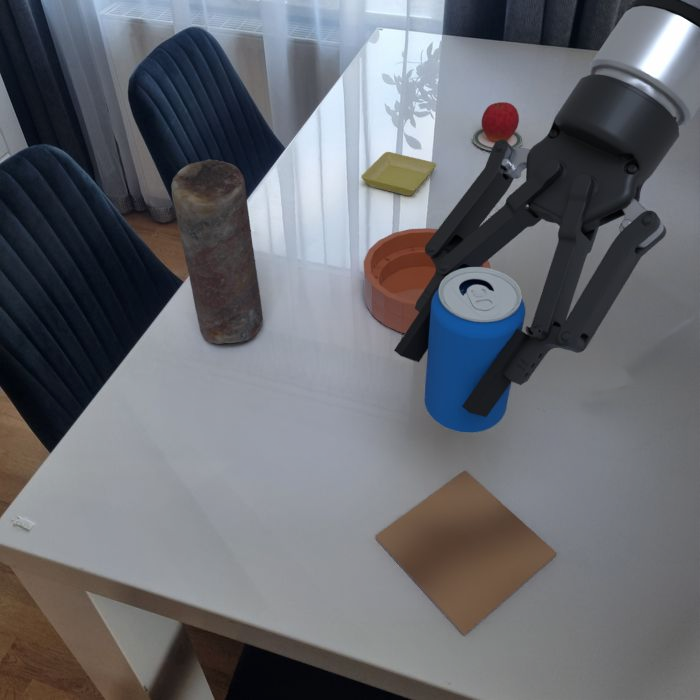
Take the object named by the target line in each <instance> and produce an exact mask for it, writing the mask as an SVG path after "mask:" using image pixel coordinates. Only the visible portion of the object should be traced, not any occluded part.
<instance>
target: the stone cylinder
mask: <svg viewBox="0 0 700 700" xmlns="http://www.w3.org/2000/svg"><path fill="white" fill-rule="evenodd" d="M170 187H171V197H172V203H173V207H174V211H175V216H176V221H177V225H178V230H179V234H180V240H181V245H182V249H183V254H184V258H185V263H186V268H187V271H188V277H189V282H190V287H191V293H192V298H193V303H194V308H195V312H196V313H195V314H196V318H197V322H198V326H199V331H200V334H201V336H202V338H203V340H206V341H207V342H208V343H211V344H213V343H214V344H217V345H221V344H235V343H243V342H246V341H249V340H250V339H252V338H254V336H255V335H256V334H257V333H258V332H259V330H260V328H261V327H262V325H263V321H264V317H263V309H262V301H261V294H260V293H261V292H260V286H259V279H258V272H257V265H256V264H257V263H256V258H255V250H254V244H253V236H252V230H251V221H250V214H249V206H248V198H247V190H246V181H245V177H244V175H243V173H242V171H241V170H240V169H239V168H238V167H237V166H235V164H232V163H229V162H226V161H222V160H218V159H211V158H210V159H209V158H208V159H205V160H201V161H197V162H194V163H189V164H186V165H185V166H183V167H182V168H181V169H180V170H179V171H178V172H177V173H176V174H175V175H174V177H173V178H172V181H171V185H170Z"/></svg>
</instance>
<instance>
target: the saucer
mask: <svg viewBox="0 0 700 700" xmlns="http://www.w3.org/2000/svg"><path fill="white" fill-rule="evenodd" d="M437 166H438V164H437V163H436V162H434V161H430V160H426V159H421V158H417V157H413V156H409V155H404V154H400V153H396V152H393V151H386V152H384V153H382V154H381V155H380V156H379V158H378V159H377V160H376V161H375V162H374V163H373V164H372V165H371V166H370V167H369V168H368V169H366V171H365V172H364V173H363V174H361V176H360V178H361V179H362V180H363V181H364V182H365V183H366V184H367V185H369V186H370V187H371V188H372V187H373V188H375V189H379V190H384V191H388V192H392V193H395V194H399V195H403V196H407V197H409V196H411V195H413V194H414V193H415V192H416V190H418V188H419V187H420V186H421V185H422V184H423V182H424V181H425V180H426V179H427V178H428V176H429V175H430V174H431V173H432V172H433V171H434V170H435V168H436V167H437Z"/></svg>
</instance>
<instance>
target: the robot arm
mask: <svg viewBox="0 0 700 700" xmlns="http://www.w3.org/2000/svg"><path fill="white" fill-rule="evenodd" d="M589 73H590V74H589V75H586V76H583V77H581V78H580V79H579V81H578V82H577V84H576V85H575V86H574V88H573V89H572V91H571V93H570V94H569V96H568V97H567V98H566V100H565V101H564V103H563V105H562V106H561V108H560V109H559V110H558V111H557V113H556V115H555V117H554V119H553V122H552V124H551V127H550V129H549V132H548V133H547V134H546V136H545V137H544V138H542V139H541V140H540V141H539V142H537V143H536V144H534V145H533V146H532V147H531V148H524V147H512V146H511V145H510V144H509V143H508V142H507V141H506V140H504V139H503V140H499V141H497V142H496V143H495V144H494V146H493V148H492V151H490V153H489V156H488V157H487V161H486V164H485V166H484V168H483V169H482V171H481V172H480V174H479V175H478V176H477V177H476V178H475V180H474V181H473V183H472V184H471V185H470V186H469V188H468V189H467V190H466V192H465V193H464V194H463V195H462V197H461V198H460V199H459V201H458V202H457V203H456V205H455V206H454V207H453V209H452V210H451V211H450V213H449V214H448V215H447V216H446V218H445V219H444V220H443V221H442V224H440V226H439V227H438V228H437V229H438V230H437V231H436V232H435V234H434V235H433V236H432V238H431V239H430V240H429V242H428V243H427V244H426V246H425V253H426V254H427V255H428V256H430V258H431V259H432V261H433V263H434V264H435V267H436V272H435V274H434V276H433V278H432V279H431V281H430V282H429V284H428V285H427V287H426V288H425V290H424V291H423V293H422V294H421V296H420V297H419V299H418V300H417V302H416V305H415V309H416V310H417V311H418V312H419V314H418V315H417V317H416V318H415V320H414V321H413V323H412V324H411V326H410V327H409V329H408V330H407V332H406V333H404V335H403V336H402V338H401V339H400V341H399V342H398V344H397V345H396V347H395V348H394V350H393V351H394V352H395V353H396V354H397V355H399V356H400V357H402V358H405V359H408V360H410V361H413V362H416V363H420V361H421V360H422V358H423V357H424V356H425V354H426V352H428V341H429V328H430V314H431V302H432V298H433V296H434V294H435V292H436V291H437V290H438V288H439V286H440V283H441V282H442V280H443V279H444V278H445V277H446V276H447V275H449V274H450V273H452V272H454V271H456V270H459V269H463V268H468V267H480V266H481V265H483V264H484V263H485V262H486V261H487V260H488V261H489V260H490V259H491V258H492V257H494V256H495V255H496V254H497V253H498V252H499V251H501V250H503V248H504V247H505V246H507V245H508V244H509V243H510V242H511V241H512V240H514V239H515V238H517V236H519V235H520V234H521V233H523V231H524V230H526V229H527V228H532V227H534V226H536V225H537V224H538V223H539V222H540V221H542V220H543V221H544V222H547V223H553V224H557V225H558V226H559V228H558V232H557V239H558V240H557V244H556V247H555V250H554V253H553V256H552V260H551V263H550V266H549V270H548V273H547V276H546V278H545V282H544V284H543V288H542V291H541V295H540V298H539V300H538V303H537V307H536V310H535V312H534V316H533V319H532V322H531V325H530V326H528V325H526V326H525V332H524V331H523V330H522V331H521V330H519V329H516V330H515V332H514V334H513V335H512V336H511V338H510V339H509V340H508V342H507V343H506V344H505V346H504V347H503V349H502V350H501V351H500V353H499V354H498V356H497V357H496V359H495V360H494V361H493V363H492V364H491V366H490V367H489V368H488V370H487V371H486V373H485V374H484V376H483V377H482V378H481V380H480V381H479V383H478V384H477V386H476V387H475V388H474V390H473V391H472V393H471V394H470V395H469V397H468V398H467V400H466V401H465V403H464V404H463V405H462V407H463V408H464V409H466V410H467V411H468V412H469V413H472V414H476V415H480V416H483V417H487V416H488V414H489V413H490V411H491V410H492V409H493V407H494V406H495V404H496V403H497V402H498V400H499V399H500V397H501V396H502V395H503V393H504V392H505V390H506V389H507V388H508V386H509V385H510V383H511V384H512V383H514V384H517V385H519V386H522V385H524V384H525V383H527V382H528V380H529V379H530V378H531V376H532V374H534V372H535V371H536V369H537V368H538V367H539V365H540V364H541V362H542V361H543V360H544V358H545V357H546V356H547V354H548V353H549V352H550V351H551V350H554V349H562V350H566V351H569V352H572V353H575V354H579V353H580V354H581V353H582V352H584V351H585V350H586V349H587V347H588V345H589V344H590V342H591V341H592V339H593V337H594V336H595V334H596V333H597V331H598V329H599V327H600V326H601V324H602V323H603V321H604V319H605V318H606V316H607V314H608V313H609V311H610V310H611V307H613V304H614V303H615V302H616V299H617V298H618V296H619V295H620V293H621V292H622V289H623V288H624V287H625V286H626V283H627V282H628V279H629V278H630V277H631V275H632V273H633V271H634V269H635V268H636V267H637V265H638V263H639V262H640V261H641V259H642V257H643V256H644V255H646V254H647V253H648V252H649V251H650V250H652V249H653V247H655V246H656V245H657V244H658V243H660V241H662V240H663V239H664V238H665V236H666V234H667V228H666V226H665V225H664V223H663V221H662V219H661V218H660V217H659V215H658V214H657V212H655V211H653V210H648V209H647V208H646V207H644V206H643V204H641V203H640V199H641V191H642V189H643V186H644V185H645V183H646V182H647V181H648V179H650V178H651V177H652V175H653V174H654V173H655V171H656V170H657V169H658V167H659V166H660V164H661V163H662V161H664V158H665V157H667V154H668V153H669V151H670V150H671V149H672V147H673V146H674V144H676V142H677V140H678V139H679V138H680V128H679V127H680V126H684V125H686V124H688V123H689V122H691V120H692V119H693V117H694V116H695V115H696V113H697V112H698V111H699V109H700V0H633V1H632V2H631V4H630V5H629V7H628V8H627V9H626V11H625V12H624V13H623V15H622V16H621V18H620V19H619V21H618V22H617V24H616V25H615V27H614V28H613V30H612V31H611V32H610V33H609V35H608V37H607V38H606V40H605V41H604V43H603V44H602V45H601V47H600V48H599V50H598V51H597V53H596V54H595V56H594V58H593V59H592V60H591V62H590V64H589ZM524 170H525V171H526V172H525V173H526V174H525V182H523V183H522V184H521V185H519V186H518V188H517V189H515V190H514V191H513V192H512V193H511V194H509V195H508V197H507V198H506V199H505V203H504V204H503V206H501V207H500V208H499V209H498V210H497V211H495V213H493V214H492V215H491V216H490V217H489V218H488V219H487V217H488V216H489V215H490V213H491V212H492V211H493V210H494V208H495V207H496V206H497V204H498V203H499V202H500V201H501V200H502V198H503V197H504V195H505V194H506V193H507V192H508V190H509V189H510V187H511V185H512V183H513V181H514V179H520V178H521V176H522V172H523V171H524ZM622 217H624V218H623V220H622V221H621V223H620V224H619V227H618V229H619V233H618V235H617V236H616V237H615V238H614V240H613V241H612V243H611V244H610V245H609V247H608V249H607V251H606V253H605V254H604V256H603V258H602V259H601V261H600V263H599V264H598V266H597V267H596V269H595V271H594V272H593V274H592V276H591V277H590V279H589V280H588V282H587V284H586V286H585V287H584V289H583V290H582V292H581V294H580V296H579V297H578V299H577V301H576V303H575V304H574V306H573V307H572V309H571V305H572V303H573V299H574V297H575V293H576V290H577V287H578V284H579V280H580V277H581V275H582V272H583V268H584V265H585V263H586V259H587V256H588V254H589V253H591V252H592V249H593V246H594V243H595V240H596V236H597V234H598V231H599V228H600V227H602V226H604V225H606V224H609V223H611V222H613V221H615V220H618V219H619V218H622ZM570 309H571V310H570Z"/></svg>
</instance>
